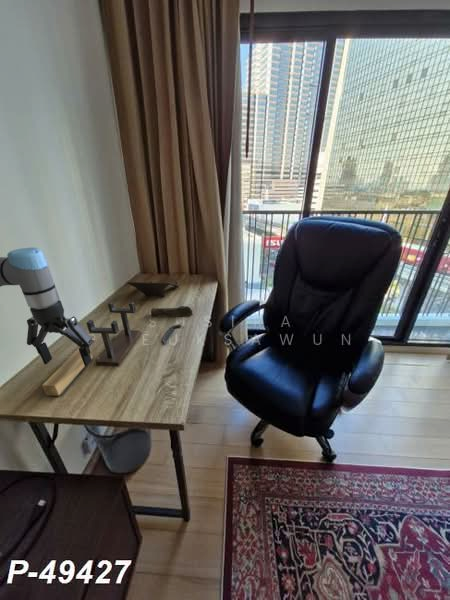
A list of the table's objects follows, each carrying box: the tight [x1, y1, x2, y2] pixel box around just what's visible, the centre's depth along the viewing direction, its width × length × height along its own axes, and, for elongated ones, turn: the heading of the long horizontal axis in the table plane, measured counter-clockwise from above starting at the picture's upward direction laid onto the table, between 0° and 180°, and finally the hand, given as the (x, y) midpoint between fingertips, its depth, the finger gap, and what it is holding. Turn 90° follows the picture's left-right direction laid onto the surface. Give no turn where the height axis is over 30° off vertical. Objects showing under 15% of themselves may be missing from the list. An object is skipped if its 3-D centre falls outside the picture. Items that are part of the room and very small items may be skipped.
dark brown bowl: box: [126, 281, 180, 298], centre depth 138 cm, size 23×23×9 cm
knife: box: [162, 323, 182, 345], centre depth 104 cm, size 14×4×1 cm, turn 169°
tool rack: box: [85, 300, 142, 367], centre depth 93 cm, size 10×20×16 cm, turn 175°
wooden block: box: [41, 346, 94, 397], centre depth 82 cm, size 4×18×5 cm, turn 175°
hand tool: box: [150, 305, 193, 317], centre depth 117 cm, size 19×4×5 cm, turn 88°
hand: (68, 362), depth 80 cm, fingers open, 13 cm apart
